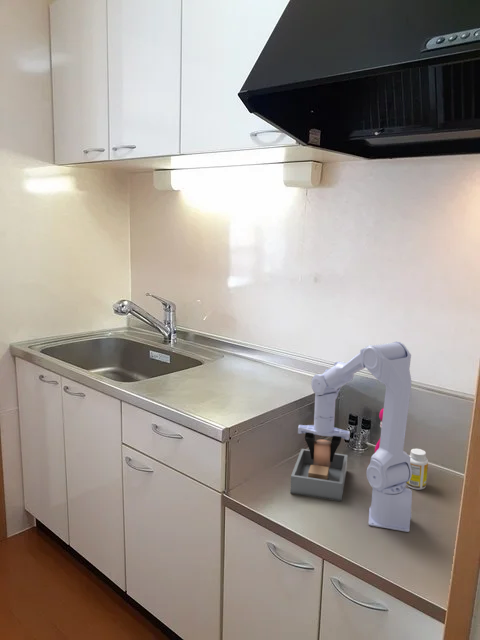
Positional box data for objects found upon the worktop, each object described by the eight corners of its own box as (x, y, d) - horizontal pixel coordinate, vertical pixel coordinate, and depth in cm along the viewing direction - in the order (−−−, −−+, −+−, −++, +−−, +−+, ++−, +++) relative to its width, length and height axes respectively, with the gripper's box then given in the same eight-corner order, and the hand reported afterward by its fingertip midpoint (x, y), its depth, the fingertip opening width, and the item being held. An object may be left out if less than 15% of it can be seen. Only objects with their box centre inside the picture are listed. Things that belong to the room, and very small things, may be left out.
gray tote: (346, 470, 149) (347, 454, 148) (341, 501, 132) (342, 483, 131) (300, 464, 152) (301, 448, 151) (290, 493, 136) (290, 476, 135)
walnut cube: (328, 483, 140) (328, 467, 139) (326, 492, 135) (327, 475, 134) (310, 481, 141) (310, 464, 140) (307, 489, 136) (308, 472, 135)
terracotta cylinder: (331, 463, 147) (332, 441, 145) (329, 471, 142) (330, 448, 141) (314, 460, 148) (315, 438, 147) (311, 468, 144) (312, 445, 142)
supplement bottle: (420, 480, 144) (423, 446, 142) (429, 490, 138) (432, 455, 136) (401, 480, 143) (404, 447, 141) (410, 491, 138) (413, 456, 136)
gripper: (351, 412, 144) (348, 456, 147) (301, 406, 148) (299, 449, 151) (349, 421, 138) (347, 467, 140) (297, 415, 142) (295, 460, 144)
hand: (322, 459), depth 145 cm, fingers closed on terracotta cylinder, 5 cm apart
